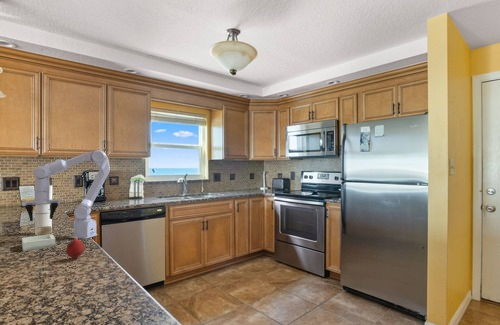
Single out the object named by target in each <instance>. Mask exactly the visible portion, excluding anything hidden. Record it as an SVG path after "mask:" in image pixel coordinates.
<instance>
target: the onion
mask: <svg viewBox="0 0 500 325" xmlns="http://www.w3.org/2000/svg"><path fill="white" fill-rule="evenodd" d="M85 248H86V247H85V244H84V242H82V241H81V239H80V240H79V238H77V237H76V238H73V239H72V240H71V241H70V242H69V243H68V245H67V247H66V251H65V252H66V254H67V256H68V257H69V258H72V259H74V260H77V259H78V258H79V257H81V255H82V254H83V253H84V252H85Z"/></svg>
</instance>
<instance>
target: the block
mask: <svg viewBox="0 0 500 325" xmlns="http://www.w3.org/2000/svg"><path fill="white" fill-rule="evenodd" d="M51 231H52V232H53V226H52V227H51V226H45V227H38V234H37V235H36V236H41V235H49V234H52V233H51Z"/></svg>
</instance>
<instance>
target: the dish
mask: <svg viewBox="0 0 500 325" xmlns="http://www.w3.org/2000/svg"><path fill="white" fill-rule="evenodd" d="M53 247H56V237H55V236H54V234H53V233H51V234H49V235H41V236H37V235H34V236H27V237H26V236H25V237H21V248H22V252H27V251H34V250H42V249H48V248H53Z"/></svg>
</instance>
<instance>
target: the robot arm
mask: <svg viewBox="0 0 500 325" xmlns="http://www.w3.org/2000/svg"><path fill="white" fill-rule="evenodd" d="M109 160H110V159H109V157H108V155H107V153H106V152H104V151H103V150H99V149H97V150H94V151H89V152H85V153H83V154H79V155H76V156H74V157H72V158H70V159H67V160H64V159H55V161H52V162H49V163H44V165H39V166H37V167H36V168H35V169H34V170H33V176H34V200H28V201H27V200H25V201H21V206H22V207H25V210H26V212H27V214H28V217H29V221H30V222H33V219H34V218H33V217H34V216H33V214H34V211H33V210H34V207H33V206H35V205H43V204H50V219H52V220H53V218H54V214H55V212H56V210H57V208H58V206H59V204H61V199H59V198H58V199H52V200H49V192H50V185H51V184H50V183H51V181H50V179H51V178H50V177H51V176H54V175H56V174H59V173H63V172H65V171H67V170H68V168H69V167H71V166H74V165H75V166H76V165H77V164H80V163H83V162H94V163H95V165H96V166H97V168H98V172H97V174H96V176H95V178H94V180H93V181H92V184H91V185H90V187H89V188H88V191H87V192H86V194H85V196H84V198H83V200H82V201H81V202H80V204H79V205H78V207H76V208H74V211H73V215H74V217H73V218H74V220H73V235H72V236H69V238H70V239H75V238H76V237H77V238H78V239H80V240H81V239H82V240H83V239H84V240H86V239H89V238H92V237H93V238H94V237H95V236H98V233H97V221H96V220H95V219H92V216H91V215H90V214H91V212H92V207H93V204H94V202H95V201H96V198H97V196H98V195H99V192H100V190H101V188H102V187H103V185H104V183H105V182H106V179H107V177H108V176H109V173H110V172H111V167H110V166H111V165H110V161H109ZM37 203H41V204H37Z"/></svg>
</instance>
